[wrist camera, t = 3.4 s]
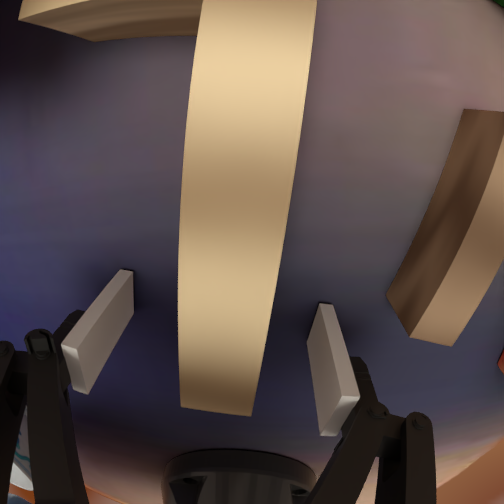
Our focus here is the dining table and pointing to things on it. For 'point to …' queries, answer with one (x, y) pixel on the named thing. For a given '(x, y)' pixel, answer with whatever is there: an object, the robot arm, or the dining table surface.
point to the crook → (222, 169)
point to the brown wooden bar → (456, 236)
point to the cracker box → (501, 362)
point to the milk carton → (500, 2)
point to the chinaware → (22, 459)
